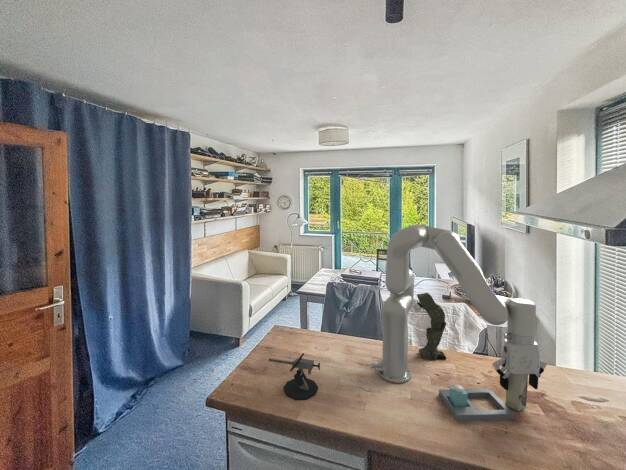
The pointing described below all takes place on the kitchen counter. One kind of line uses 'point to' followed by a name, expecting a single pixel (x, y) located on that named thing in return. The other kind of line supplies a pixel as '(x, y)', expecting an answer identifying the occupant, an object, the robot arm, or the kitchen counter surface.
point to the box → (517, 391)
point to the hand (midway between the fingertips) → (518, 387)
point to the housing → (471, 412)
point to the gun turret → (300, 379)
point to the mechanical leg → (432, 327)
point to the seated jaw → (458, 396)
